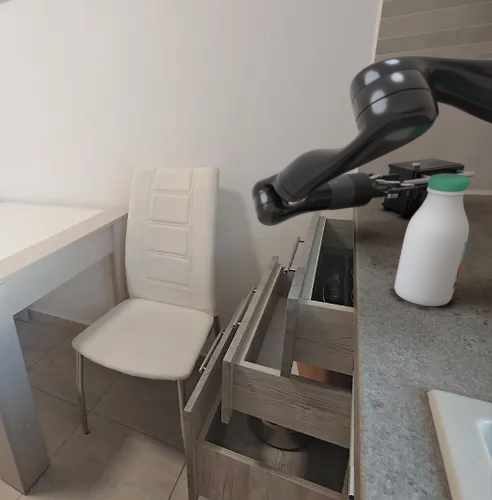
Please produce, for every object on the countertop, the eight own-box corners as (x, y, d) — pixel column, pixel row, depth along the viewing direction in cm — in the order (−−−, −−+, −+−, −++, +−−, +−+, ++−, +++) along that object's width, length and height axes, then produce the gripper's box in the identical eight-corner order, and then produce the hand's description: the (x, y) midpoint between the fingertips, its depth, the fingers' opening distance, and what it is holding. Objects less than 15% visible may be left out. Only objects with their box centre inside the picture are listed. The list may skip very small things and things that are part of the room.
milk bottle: (444, 313, 56) (479, 186, 48) (387, 297, 62) (410, 180, 53) (455, 292, 61) (489, 172, 53) (401, 279, 66) (424, 168, 58)
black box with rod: (449, 212, 91) (462, 160, 86) (404, 218, 90) (414, 166, 85) (423, 203, 99) (433, 154, 93) (380, 208, 98) (388, 160, 93)
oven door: (469, 210, 86) (480, 168, 82) (398, 220, 85) (406, 178, 81) (452, 205, 90) (462, 164, 86) (385, 214, 89) (392, 174, 85)
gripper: (366, 182, 73) (443, 172, 74) (326, 168, 86) (391, 160, 87) (361, 218, 76) (434, 207, 77) (323, 199, 89) (386, 190, 90)
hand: (411, 182), depth 82 cm, fingers open, 8 cm apart
